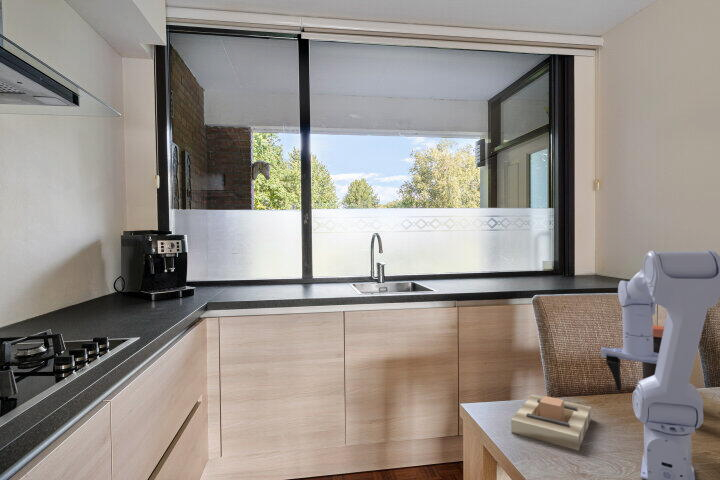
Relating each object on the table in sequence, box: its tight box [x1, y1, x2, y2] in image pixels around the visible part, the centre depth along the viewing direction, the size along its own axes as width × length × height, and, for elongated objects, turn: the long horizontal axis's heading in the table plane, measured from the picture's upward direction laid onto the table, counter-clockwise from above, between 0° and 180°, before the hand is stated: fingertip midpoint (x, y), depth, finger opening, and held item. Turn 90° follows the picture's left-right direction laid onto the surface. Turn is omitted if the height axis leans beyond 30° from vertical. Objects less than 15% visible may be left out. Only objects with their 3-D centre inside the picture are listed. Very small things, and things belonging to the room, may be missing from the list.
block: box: [539, 395, 565, 422], centre depth 96 cm, size 4×4×6 cm
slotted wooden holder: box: [510, 394, 592, 451], centre depth 96 cm, size 18×14×4 cm
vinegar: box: [641, 325, 664, 380], centre depth 109 cm, size 7×7×20 cm
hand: (639, 392), depth 91 cm, fingers open, 7 cm apart
